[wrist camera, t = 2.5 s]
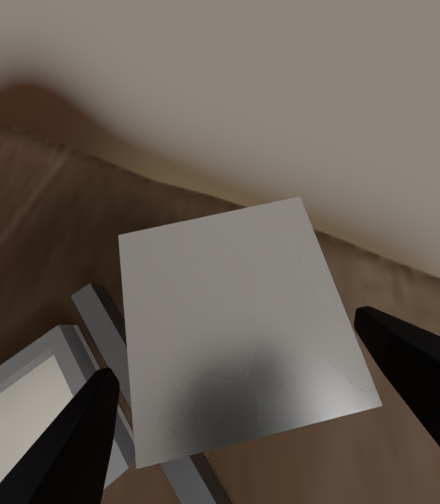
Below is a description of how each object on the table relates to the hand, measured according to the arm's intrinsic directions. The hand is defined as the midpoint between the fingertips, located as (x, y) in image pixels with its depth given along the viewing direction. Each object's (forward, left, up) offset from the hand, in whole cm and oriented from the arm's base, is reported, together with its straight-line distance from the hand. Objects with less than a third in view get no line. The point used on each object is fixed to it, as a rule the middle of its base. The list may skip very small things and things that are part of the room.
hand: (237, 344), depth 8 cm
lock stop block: (+1, 0, -9) cm, 9 cm away
